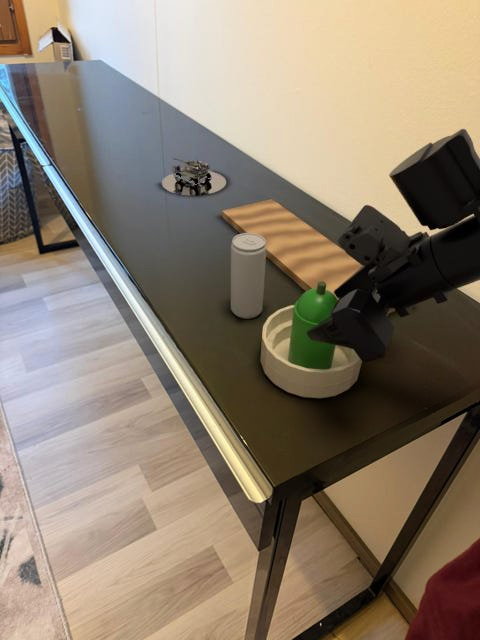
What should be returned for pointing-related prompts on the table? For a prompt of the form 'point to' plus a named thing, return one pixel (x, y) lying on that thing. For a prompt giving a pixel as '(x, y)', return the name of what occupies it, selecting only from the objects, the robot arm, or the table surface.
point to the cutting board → (294, 245)
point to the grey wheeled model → (193, 179)
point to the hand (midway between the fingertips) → (323, 314)
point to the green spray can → (306, 316)
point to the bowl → (298, 377)
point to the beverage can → (247, 274)
